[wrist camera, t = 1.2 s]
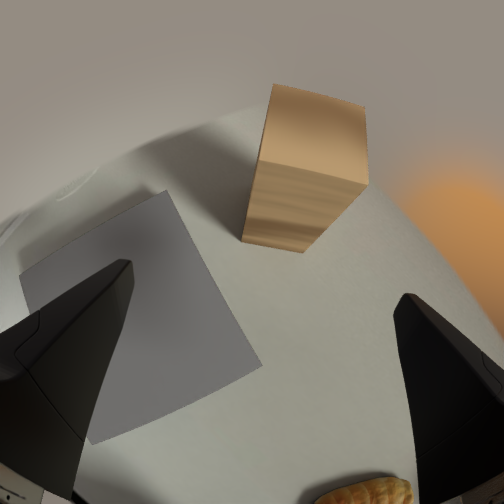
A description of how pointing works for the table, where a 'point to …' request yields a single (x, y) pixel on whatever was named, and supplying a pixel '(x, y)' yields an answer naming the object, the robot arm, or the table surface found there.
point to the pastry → (372, 493)
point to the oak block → (305, 168)
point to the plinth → (151, 317)
